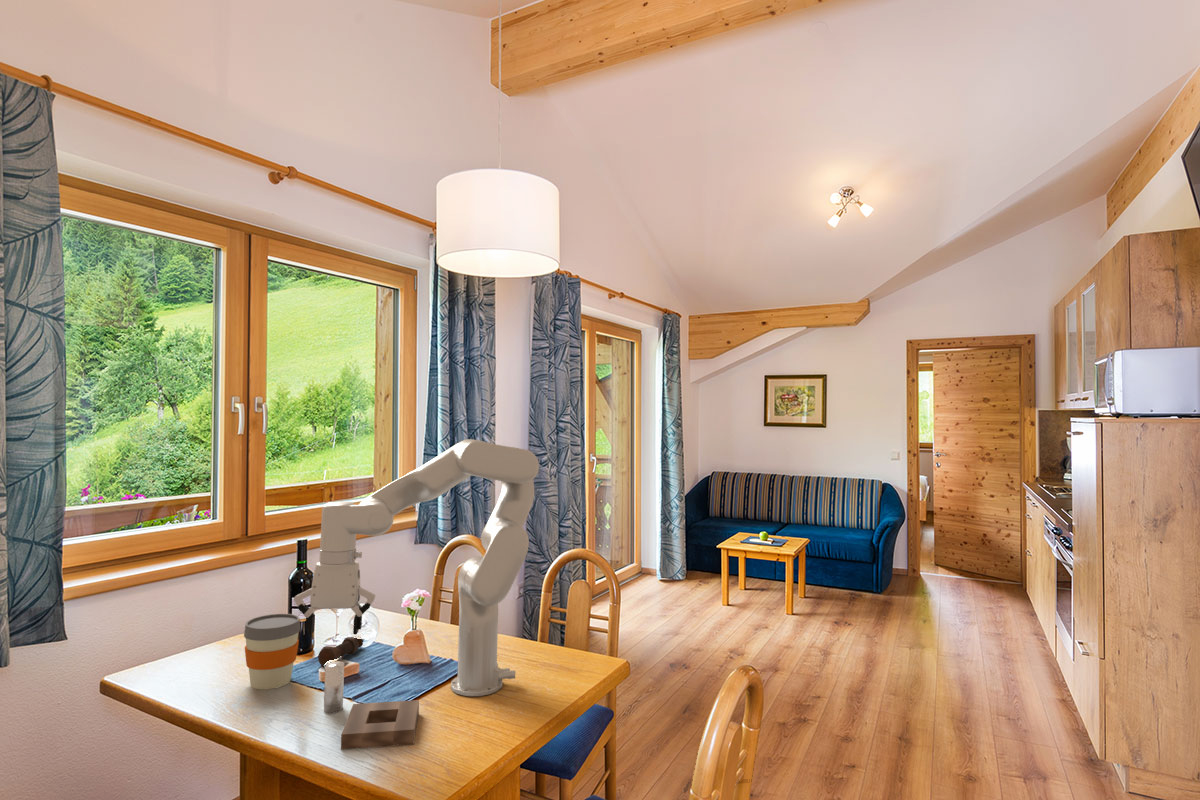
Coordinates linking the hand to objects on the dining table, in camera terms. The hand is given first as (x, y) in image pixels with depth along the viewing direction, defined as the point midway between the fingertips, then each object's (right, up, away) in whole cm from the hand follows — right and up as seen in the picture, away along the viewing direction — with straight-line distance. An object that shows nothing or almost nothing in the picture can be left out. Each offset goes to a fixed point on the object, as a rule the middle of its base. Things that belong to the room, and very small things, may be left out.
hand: (333, 633), depth 149 cm
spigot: (0, -17, 0) cm, 17 cm away
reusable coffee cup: (-21, -17, +14) cm, 31 cm away
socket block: (+14, -17, -10) cm, 24 cm away
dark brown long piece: (-10, -18, +31) cm, 38 cm away
